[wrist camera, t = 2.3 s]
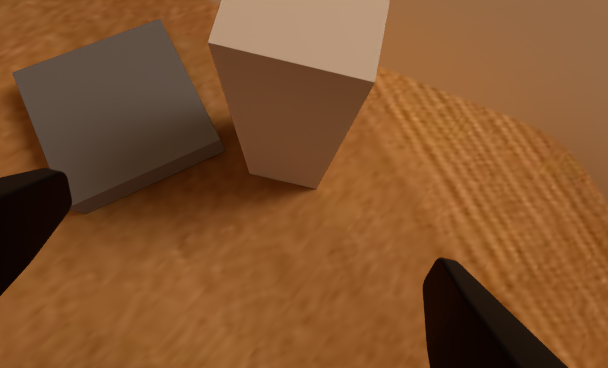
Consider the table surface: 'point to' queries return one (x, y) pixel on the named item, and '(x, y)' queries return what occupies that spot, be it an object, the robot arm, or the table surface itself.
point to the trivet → (117, 115)
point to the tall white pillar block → (296, 78)
